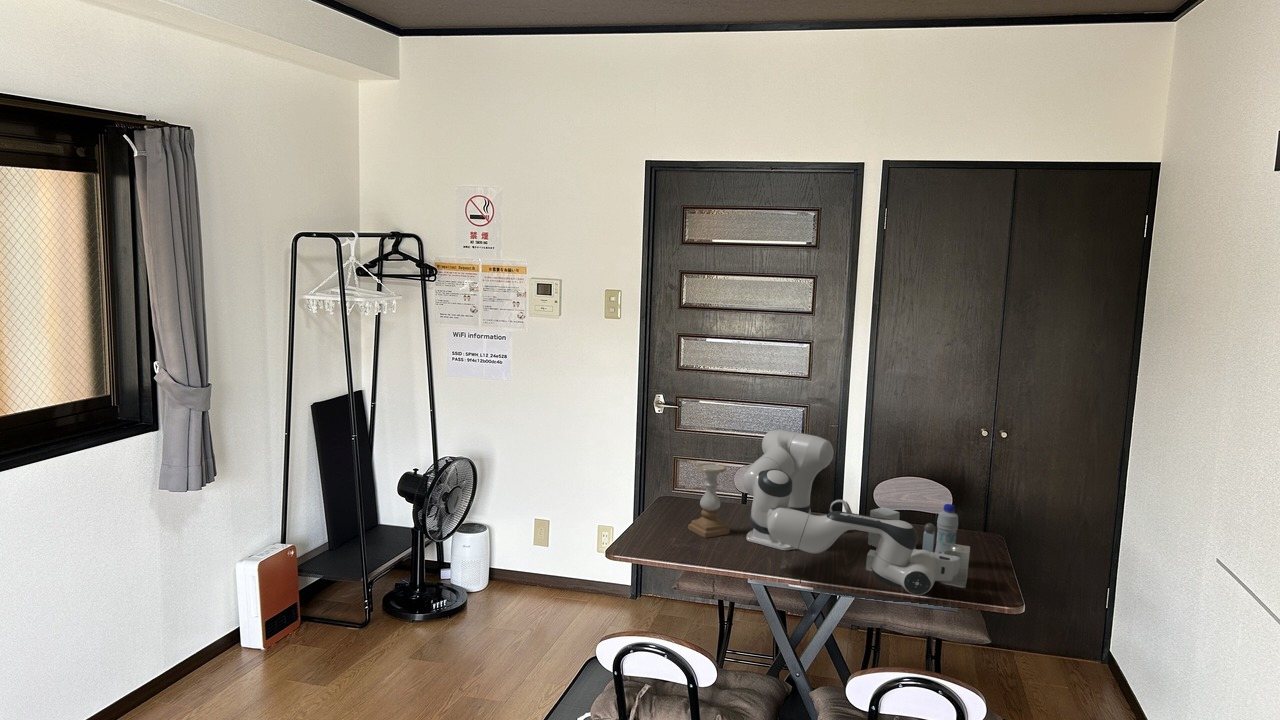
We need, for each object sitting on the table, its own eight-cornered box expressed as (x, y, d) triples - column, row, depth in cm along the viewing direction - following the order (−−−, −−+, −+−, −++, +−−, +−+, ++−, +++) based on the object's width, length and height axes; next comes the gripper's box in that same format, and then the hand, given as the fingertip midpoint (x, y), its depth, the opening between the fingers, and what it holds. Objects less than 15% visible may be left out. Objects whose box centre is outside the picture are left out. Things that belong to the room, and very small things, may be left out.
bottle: (937, 557, 288) (942, 500, 285) (957, 562, 283) (963, 504, 281) (930, 562, 282) (935, 504, 280) (950, 567, 278) (956, 508, 276)
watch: (850, 533, 309) (852, 503, 308) (828, 530, 311) (830, 501, 310) (850, 528, 315) (852, 499, 313) (828, 525, 317) (830, 497, 315)
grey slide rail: (865, 570, 273) (868, 535, 272) (870, 562, 280) (872, 528, 279) (965, 588, 261) (968, 553, 259) (966, 580, 268) (970, 545, 266)
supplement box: (880, 541, 302) (883, 506, 300) (897, 547, 296) (900, 512, 295) (867, 544, 298) (869, 509, 296) (884, 551, 292) (887, 515, 290)
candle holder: (704, 538, 297) (708, 471, 294) (687, 528, 306) (690, 464, 303) (730, 534, 303) (733, 468, 300) (712, 525, 312) (715, 461, 309)
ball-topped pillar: (914, 576, 267) (918, 524, 265) (916, 570, 272) (921, 519, 270) (941, 581, 263) (945, 528, 261) (943, 575, 269) (947, 523, 267)
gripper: (885, 569, 258) (891, 555, 270) (957, 582, 249) (960, 567, 262) (887, 549, 257) (893, 536, 269) (959, 561, 249) (962, 547, 261)
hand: (927, 551), depth 266 cm, fingers open, 7 cm apart
